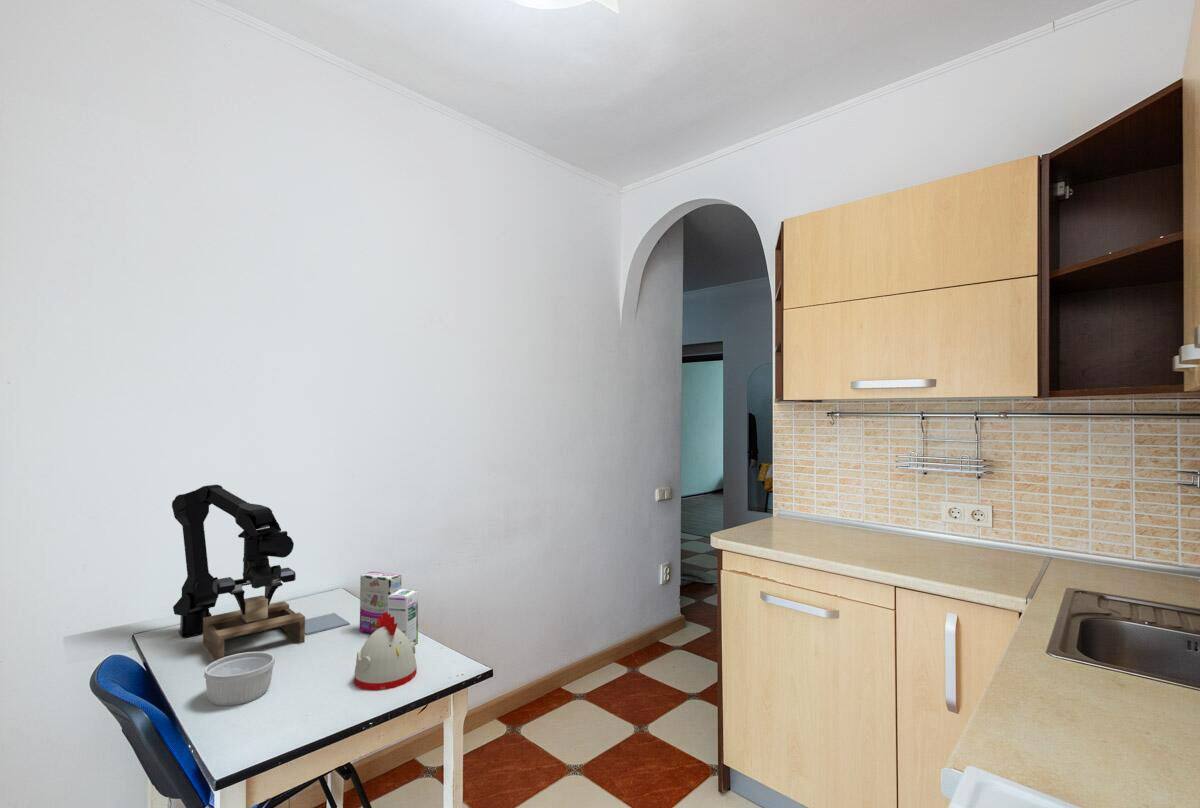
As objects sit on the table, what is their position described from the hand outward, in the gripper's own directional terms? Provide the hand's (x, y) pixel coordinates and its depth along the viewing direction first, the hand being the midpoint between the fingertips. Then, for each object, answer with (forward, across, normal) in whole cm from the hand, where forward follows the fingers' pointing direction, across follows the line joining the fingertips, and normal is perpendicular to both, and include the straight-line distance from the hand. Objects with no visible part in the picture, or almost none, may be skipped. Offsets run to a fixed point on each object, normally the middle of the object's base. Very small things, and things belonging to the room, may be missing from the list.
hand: (254, 612), depth 155 cm
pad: (+8, +18, +2) cm, 20 cm away
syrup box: (+9, +28, -30) cm, 42 cm away
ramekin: (+9, -10, -30) cm, 33 cm away
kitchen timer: (+9, +17, -44) cm, 48 cm away
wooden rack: (+8, 0, 0) cm, 8 cm away
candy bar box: (+9, +28, -16) cm, 33 cm away
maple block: (+2, 0, 0) cm, 2 cm away
